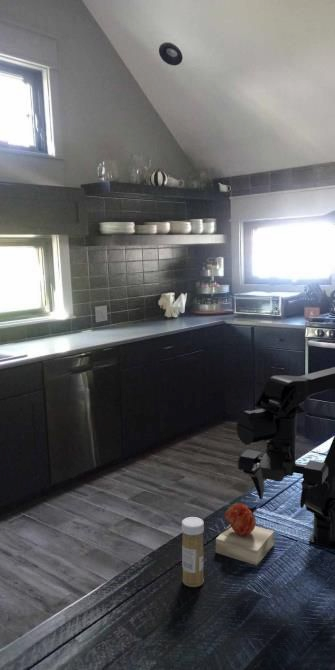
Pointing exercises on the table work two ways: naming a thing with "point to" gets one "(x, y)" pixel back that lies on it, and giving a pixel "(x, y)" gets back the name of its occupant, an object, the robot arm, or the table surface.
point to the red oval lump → (241, 519)
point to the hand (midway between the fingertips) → (281, 502)
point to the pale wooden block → (245, 544)
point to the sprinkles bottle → (192, 551)
